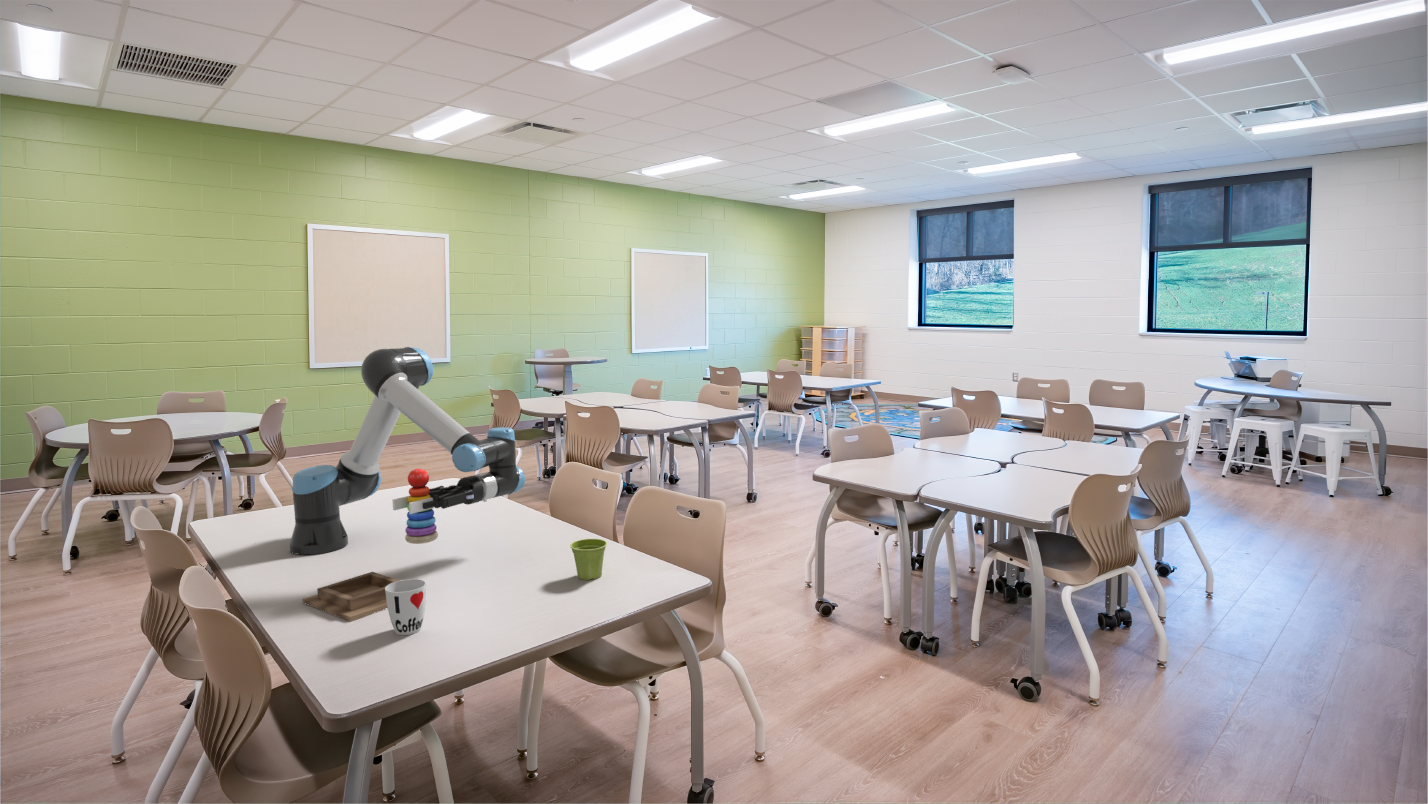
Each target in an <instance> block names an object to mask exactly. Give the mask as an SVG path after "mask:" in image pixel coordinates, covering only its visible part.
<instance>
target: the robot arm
mask: <svg viewBox="0 0 1428 804" xmlns="http://www.w3.org/2000/svg"><path fill="white" fill-rule="evenodd" d="M360 371H361V378H362V380H363V382H364V385H365V386H366V388H367V389H368V390H369V391H370V392H371V394H373V395H374V398H373V400H372V402H371V403H370V406H369V408H368V411H367V413H366V415H365V417H364V419H363V422H362V423H361V426H360V428H359V430H358V433H357V434H356V437H354V438H355V439H354V441H353V443H352V445H351V447H350V449H349V451H348V452H344V453H343V454H342V455H341V457H340V458H339V460H338V463H337V465H336V466H334V465H332V464H331V465H330V464H323V465H322V464H321V465H316V466H310V467H307V468H304V469H301V470H299V471H297V472H296V473H294V475H293V476H292V486H291V487H292V488H291V490H292V497H293V498H292V499H293V509H294V511H293V512H294V523H295V524H294V528H293V531H292V535H291V538H290V541H289V542H290V543H289V551H290V552H291V553H292V552H293V553H292V554H294V553H298V554H297V555H302V554H308V555H318V553H320V554H325V553H330V552H333V551H337V550H341V549H343V548H345V547H347V545H349V537H348V536H349V535H348V534H347V531H346V530H345V527H344V524H343V523H342V519H341V517H340V516H341V515H340V513H341V512H340V507H341V506H344V505H348V504H351V503H354V502H358V501H362V500H365V499H366V498H368V497H371V496H372V495H374V494H375V493H377V491H378V490H379V488H380V486H381V482H382V476H381V473H382V472H381V470H380V469H381V466H380V464H379V462H378V461H379V460H380V458H381V455H382V454H383V451H384V449H385V447H386V444H387V443H388V442H389V439H390V436H391V434H392V433H393V430H394V429H395V426H396V424H397V422H398V421H399V420H398V419H399V418H400V416H401V414H403V415H404V416H405V417H406V418H407V419H409V420H410V421H411V422H412V423H413V424H415V425H416V426H417V427H418V428H420V429H421V430H422V431H423V432H424V433H426V434H427V435H428V436H429V437H430V438H432V439H433V440H434V441H435V442H436V443H438V444H439V445H440V446H441V447H442V448H444V449H445V450H446V451H447V452H449V453H450V454H451V461H452V462H453V465H454V467H455V469H457V471H460V472H463V473H471V472H475V471H480V470H481V469H483V468H486V467H488V468H489V471H487V472H483V473H479V474H478V473H477V474H474V475H471V476H470V475H469V476H466V477H465V476H464V477H461V478H460V479H459V480H458V481H457V484H452V485H448V486H446V487H444V485H439V486H436V487H433V488H432V487H431V488H429V489H430V491H429V493H428V495H430V497H431V498H427V499H423V500H419V501H415V502H411V503H408V497H409V496H411V495H410V494H409V495H405V496H402V497H398V498H397V497H396V498H395V499H392V510H393V511H398V510H401V509H406V508H407V506H408V504H409V510H408V512H409V514H413V513H417V512H421V511H425V510H429V509H433V510H434V508H435V509H443V510H444V509H447V508H451V507H454V506H458V505H461V504H464V505H467V506H468V505H472V504H475V503H476V504H477V503H479V502H484V503H485V502H487V501H488V500H491V499H495V498H498V497H499V498H500V497H503V496H508V495H512V494H514V493H517V492H520V491H521V490H522V489H523V488H524V486H525V483H526V475H525V474H524V471H523V469H522V468H521V467H519V466H517V458H516V457H517V456H516V452H517V451H516V438H515V430H514V429H513V428H512V427H506V426H505V427H493V428H489V429H488V431H487V435H486V438H483V439H478V438H477V437H476V436H474V435H473V433H471V432H469V431H468V430H467V429H466V428H465V427H463V426H462V425H461V424H460V423H459V422H457V421H456V420H455V419H454V418H453V417H452V416H451V415H449V414H448V413H447V412H446V411H444V410H443V409H442V408H441V407H440V406H438V405H437V404H436V403H435V402H434V401H433V400H431V399H430V398H429V397H428V396H427V395H425V394H424V393H423V392H422V391H420V390H419V388H420V387H422V386H425V385H426V384H428V383H429V382H430V381H431V380H432V378H433V376H434V365H433V363H432V359H431V357H430V356H429V355H428V354H427V352H426V351H424V350H423V349H420V348H418V347H410V346H406V347H402V348H401V347H400V348H399V347H398V348H380V349H376V350H373V351H372V352H370V353H369V354H368V355H367V356H366V357H365V359H363V362H362V364H361V369H360Z"/></svg>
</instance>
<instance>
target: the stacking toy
mask: <svg viewBox="0 0 1428 804" xmlns="http://www.w3.org/2000/svg"><path fill="white" fill-rule="evenodd" d="M429 481H430V475H429V473H428V472H427V471H426V470H425V469H423V468H415V469H413V470H411V471H410V472H409V473H408V475H407V482H408V484H409V486H411V487H410V488H409V489H408V494H409V495H408V496H409V497H408V503H411V502H415V501H419V500H423V499H427V498H431V497H430V495H428V493H429V491H430V489H431V488H429V487H428V486H427V485H428V483H429ZM410 495H411V496H410ZM407 511H408V512H406V517H407V520H406V527H405V533H406V534H405V537H404V539H405V541H406V542H407V543H409V544H413V545H414V544H415V545H419V544H421V545H422V544H427V543H430V542H433V541H435V540H437V539H438V537H439V533H438V531H437V525H436V517H435V516H434V515H435V510H434V508H433V509H429V510H425V511H421V512H417V513H413V514H409V504H408V506H407Z"/></svg>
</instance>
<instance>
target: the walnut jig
mask: <svg viewBox="0 0 1428 804" xmlns="http://www.w3.org/2000/svg"><path fill="white" fill-rule="evenodd" d="M401 580H402V579H401ZM401 580H400V579H397V578H394V577H391V576H388V575H384V574H383V573H382V574H381V573H378V572H374V571H370V572H367V573H363V574H360V575H357V576H354V577H352V578H348V579H344V580H340V581H337V582H335V583H331V584H329V585H325V586H322V587H318V588H317V589H316V591H317V594H313V595H311V596H308V597H305V598H302V603H303V602H304V603H306V604H305V605H307V604H309V605H311V606H310V607H312V606H313V607H312V608H314V607H316V608H315V609H317V608H319V609H318V610H320V609H321V610H320V611H322V610H324V611H323V612H325V611H326V612H325V613H327V614H330V613H331V614H330V615H333V616H335V615H336V617H338V616H339V617H338V618H341V619H343V618H344V619H343V620H346V621H348V620H349V622H353V621H356V620H359V619H362V618H365V617H367V615H368V616H370V615H372V613H373V614H375V613H374V612H376V613H379V612H381V611H384V610H386V609H385V608H387V600H386V592H385V587H386V586H387V585H389V584H391V583H393V582H396V581H401ZM304 603H303V604H304ZM309 605H308V606H309ZM383 609H384V610H383ZM387 609H388V608H387ZM380 610H381V611H380ZM378 611H379V612H378ZM364 616H365V617H364Z"/></svg>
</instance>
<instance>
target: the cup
mask: <svg viewBox="0 0 1428 804" xmlns="http://www.w3.org/2000/svg"><path fill="white" fill-rule="evenodd" d="M385 592H386V600H387V611H388V616H389V619H390V623H391V626H392V628H393V631H394V633H395V634H396V635H398V636H410V635H413V634H416V633H418V632H420V631H421V629H422V625H423V622H424V618H425V611H426V603H427V582H426V580H424V579H419V578H408V579H401V581H396V582H393V583H391V584H389V585H387V586H386V587H385Z"/></svg>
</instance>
